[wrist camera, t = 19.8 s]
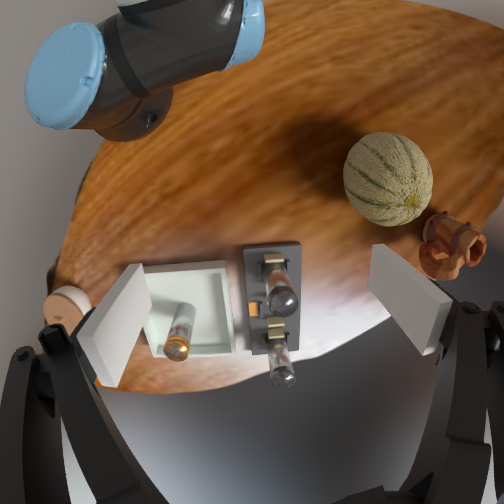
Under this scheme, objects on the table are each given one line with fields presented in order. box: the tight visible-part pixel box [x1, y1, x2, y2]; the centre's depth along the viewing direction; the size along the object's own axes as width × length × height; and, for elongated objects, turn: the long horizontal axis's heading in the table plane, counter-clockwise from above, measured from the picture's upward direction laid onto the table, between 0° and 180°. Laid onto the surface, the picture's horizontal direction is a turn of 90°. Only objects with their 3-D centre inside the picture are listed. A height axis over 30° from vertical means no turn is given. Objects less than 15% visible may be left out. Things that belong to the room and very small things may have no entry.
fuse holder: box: [243, 242, 301, 355], centre depth 51 cm, size 10×24×4 cm, turn 4°
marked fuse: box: [163, 303, 196, 361], centre depth 46 cm, size 4×4×12 cm
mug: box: [419, 211, 486, 280], centre depth 42 cm, size 15×8×15 cm, turn 119°
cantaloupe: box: [343, 132, 433, 226], centre depth 37 cm, size 15×15×15 cm
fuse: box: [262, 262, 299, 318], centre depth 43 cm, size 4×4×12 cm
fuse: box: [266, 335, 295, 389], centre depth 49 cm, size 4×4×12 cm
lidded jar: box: [43, 286, 91, 336], centre depth 46 cm, size 11×11×9 cm
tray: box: [143, 260, 236, 357], centre depth 50 cm, size 18×20×4 cm
